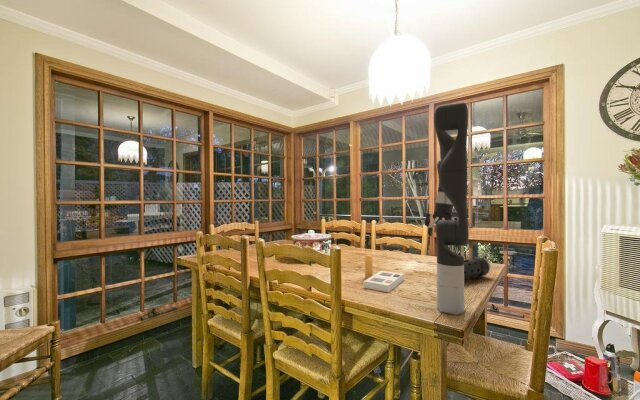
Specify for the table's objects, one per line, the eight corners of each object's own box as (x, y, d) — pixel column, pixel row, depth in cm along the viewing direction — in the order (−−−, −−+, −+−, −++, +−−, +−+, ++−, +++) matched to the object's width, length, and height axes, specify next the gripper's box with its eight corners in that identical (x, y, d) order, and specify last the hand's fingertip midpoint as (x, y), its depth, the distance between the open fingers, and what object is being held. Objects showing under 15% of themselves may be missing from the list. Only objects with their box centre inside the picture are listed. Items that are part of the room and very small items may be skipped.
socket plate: (388, 292, 124) (388, 284, 124) (363, 287, 131) (363, 280, 131) (403, 279, 142) (403, 273, 142) (381, 276, 149) (381, 270, 149)
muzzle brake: (437, 281, 139) (437, 260, 139) (474, 274, 152) (474, 255, 152) (454, 287, 131) (454, 264, 131) (492, 278, 143) (492, 258, 143)
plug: (370, 280, 143) (370, 256, 142) (363, 278, 145) (363, 255, 145) (373, 278, 146) (373, 255, 146) (366, 277, 148) (366, 254, 148)
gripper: (425, 200, 130) (420, 235, 130) (457, 204, 120) (452, 241, 120) (432, 201, 135) (427, 234, 136) (463, 205, 125) (458, 241, 125)
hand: (439, 238), depth 128 cm, fingers open, 8 cm apart
